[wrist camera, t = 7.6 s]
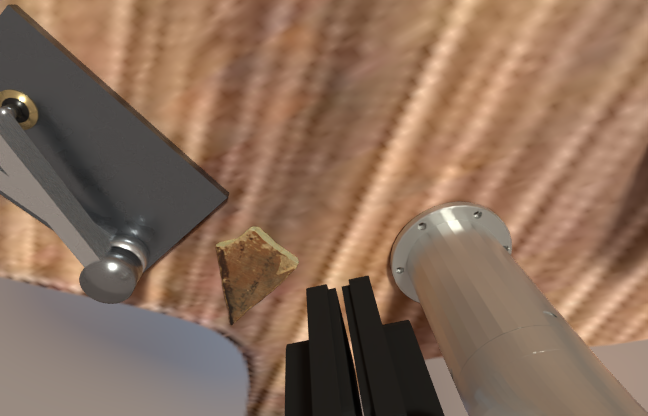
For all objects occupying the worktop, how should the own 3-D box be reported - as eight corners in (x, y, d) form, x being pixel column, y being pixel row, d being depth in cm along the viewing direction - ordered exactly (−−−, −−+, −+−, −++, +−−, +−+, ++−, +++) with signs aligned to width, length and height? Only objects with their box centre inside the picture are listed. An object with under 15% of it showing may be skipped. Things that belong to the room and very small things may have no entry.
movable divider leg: (157, 265, 40) (143, 293, 36) (117, 280, 40) (99, 309, 37) (32, 93, 32) (-2, 106, 28) (-16, 114, 32) (-56, 130, 29)
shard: (233, 316, 46) (230, 327, 44) (177, 278, 43) (172, 289, 41) (301, 258, 43) (301, 268, 41) (246, 213, 40) (244, 222, 39)
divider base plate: (229, 192, 38) (224, 205, 36) (134, 277, 42) (124, 294, 40) (16, 4, 30) (-8, 5, 28) (-79, 129, 34) (-108, 139, 31)
